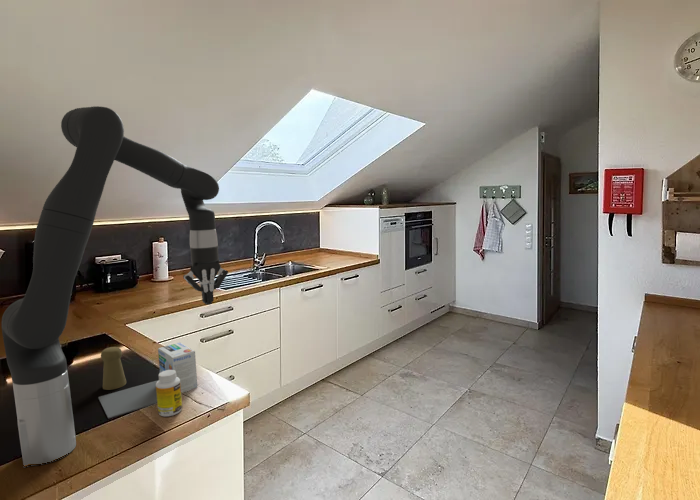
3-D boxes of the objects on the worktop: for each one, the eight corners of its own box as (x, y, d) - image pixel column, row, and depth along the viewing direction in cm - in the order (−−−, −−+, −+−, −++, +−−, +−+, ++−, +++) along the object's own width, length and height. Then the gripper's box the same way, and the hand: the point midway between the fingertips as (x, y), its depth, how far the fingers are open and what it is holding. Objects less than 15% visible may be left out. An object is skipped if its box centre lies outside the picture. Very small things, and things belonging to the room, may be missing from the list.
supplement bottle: (177, 417, 102) (174, 377, 100) (154, 418, 101) (151, 378, 100) (185, 405, 107) (182, 367, 106) (163, 406, 107) (160, 368, 106)
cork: (99, 391, 116) (95, 353, 115) (105, 382, 122) (101, 346, 121) (123, 387, 118) (120, 350, 117) (128, 379, 124) (125, 343, 122)
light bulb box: (159, 383, 120) (156, 347, 119) (183, 376, 125) (180, 341, 124) (174, 395, 113) (171, 357, 111) (198, 387, 118) (196, 350, 116)
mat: (108, 418, 102) (108, 417, 102) (98, 398, 112) (98, 397, 112) (172, 398, 111) (172, 397, 111) (157, 381, 122) (157, 380, 122)
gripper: (184, 248, 113) (189, 311, 115) (231, 244, 121) (235, 302, 124) (176, 246, 119) (181, 305, 121) (221, 242, 127) (224, 297, 129)
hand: (208, 303), depth 122 cm, fingers closed
